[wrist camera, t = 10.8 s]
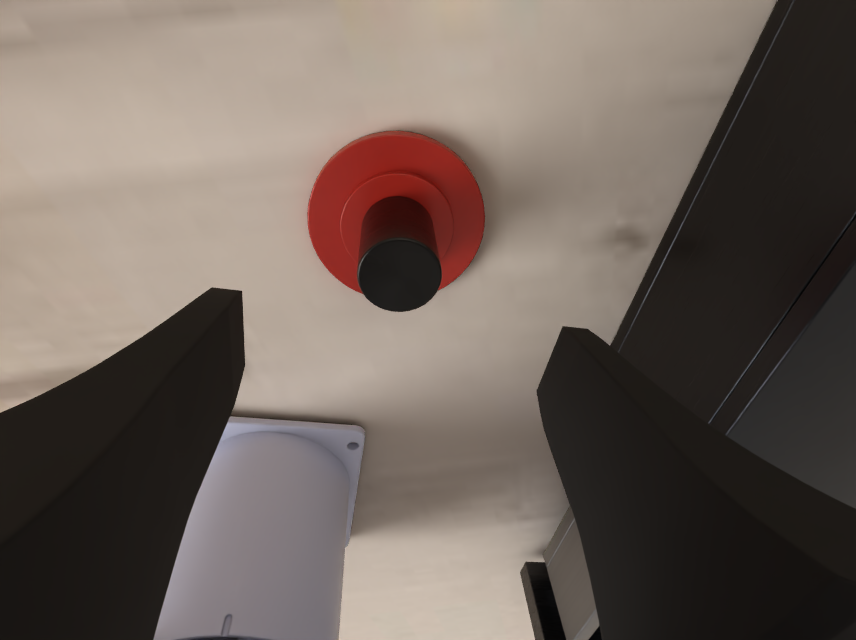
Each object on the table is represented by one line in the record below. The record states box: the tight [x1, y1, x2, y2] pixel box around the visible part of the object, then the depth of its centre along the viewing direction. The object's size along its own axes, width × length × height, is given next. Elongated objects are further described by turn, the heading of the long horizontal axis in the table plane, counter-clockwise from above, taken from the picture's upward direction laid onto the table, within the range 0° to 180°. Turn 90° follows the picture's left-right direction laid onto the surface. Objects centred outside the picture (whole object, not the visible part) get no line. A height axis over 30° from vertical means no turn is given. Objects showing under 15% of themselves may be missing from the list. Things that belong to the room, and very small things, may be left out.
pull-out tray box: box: [520, 506, 602, 640], centre depth 25 cm, size 21×11×5 cm, turn 170°
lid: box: [307, 131, 485, 312], centre depth 15 cm, size 6×6×4 cm
